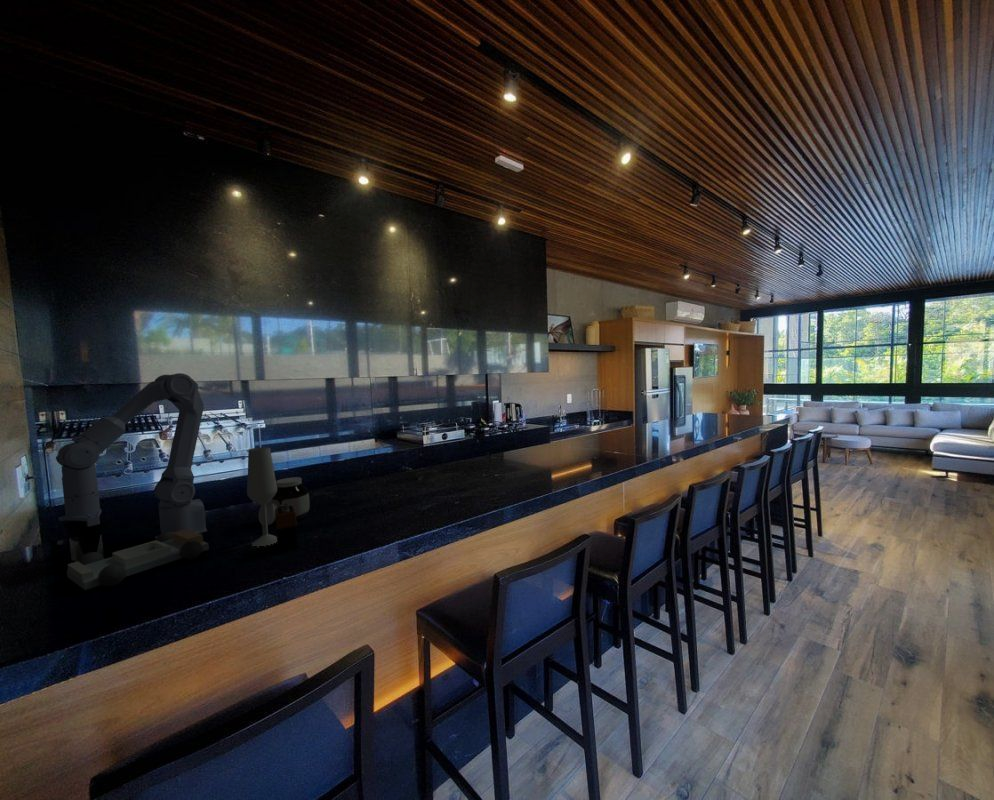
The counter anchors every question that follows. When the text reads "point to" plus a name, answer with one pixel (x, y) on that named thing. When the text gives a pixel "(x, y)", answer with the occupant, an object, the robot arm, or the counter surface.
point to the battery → (286, 527)
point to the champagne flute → (261, 487)
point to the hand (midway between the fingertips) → (87, 551)
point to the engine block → (77, 551)
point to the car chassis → (135, 559)
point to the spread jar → (288, 499)
